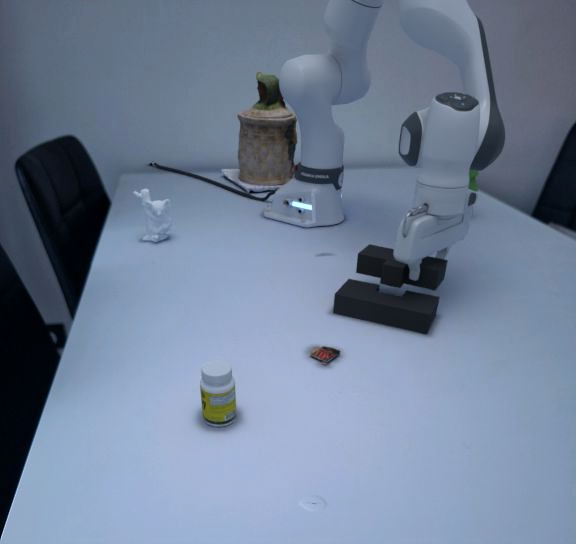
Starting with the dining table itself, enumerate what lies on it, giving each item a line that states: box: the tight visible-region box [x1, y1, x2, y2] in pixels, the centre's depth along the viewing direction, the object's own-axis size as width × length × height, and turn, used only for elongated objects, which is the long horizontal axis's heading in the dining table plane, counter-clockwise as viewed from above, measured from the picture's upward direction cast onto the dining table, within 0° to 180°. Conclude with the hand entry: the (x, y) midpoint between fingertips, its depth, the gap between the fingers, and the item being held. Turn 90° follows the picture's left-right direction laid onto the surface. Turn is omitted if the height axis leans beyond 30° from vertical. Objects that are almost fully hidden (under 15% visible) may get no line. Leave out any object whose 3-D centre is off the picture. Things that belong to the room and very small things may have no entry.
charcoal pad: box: [332, 278, 441, 335], centre depth 100 cm, size 18×8×4 cm, turn 65°
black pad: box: [355, 243, 449, 292], centre depth 102 cm, size 16×8×4 cm, turn 61°
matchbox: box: [309, 345, 341, 366], centre depth 88 cm, size 5×5×1 cm
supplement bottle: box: [199, 359, 238, 428], centre depth 72 cm, size 5×5×8 cm
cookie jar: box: [221, 70, 298, 194], centre depth 170 cm, size 25×25×32 cm
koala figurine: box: [133, 188, 173, 243], centre depth 128 cm, size 8×7×12 cm
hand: (426, 273), depth 101 cm, fingers closed on black pad, 6 cm apart
